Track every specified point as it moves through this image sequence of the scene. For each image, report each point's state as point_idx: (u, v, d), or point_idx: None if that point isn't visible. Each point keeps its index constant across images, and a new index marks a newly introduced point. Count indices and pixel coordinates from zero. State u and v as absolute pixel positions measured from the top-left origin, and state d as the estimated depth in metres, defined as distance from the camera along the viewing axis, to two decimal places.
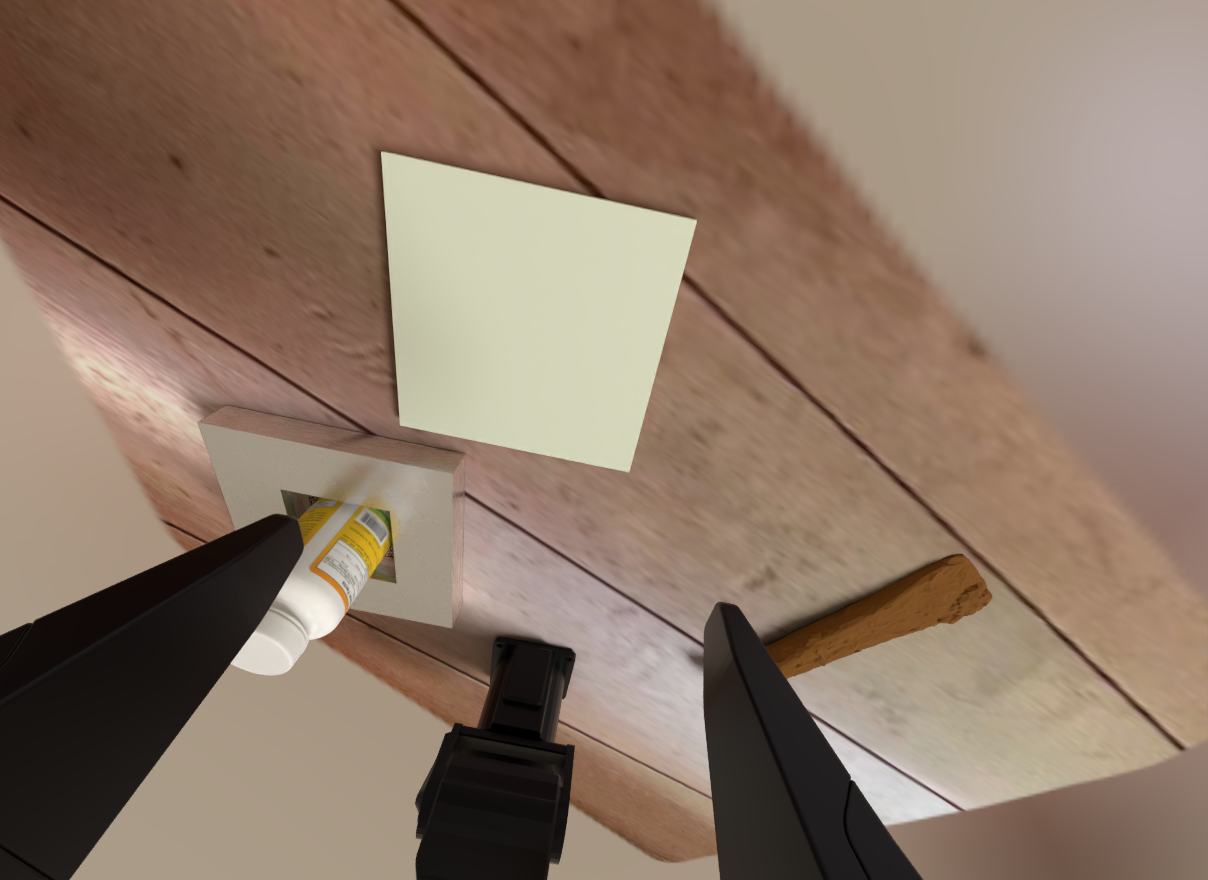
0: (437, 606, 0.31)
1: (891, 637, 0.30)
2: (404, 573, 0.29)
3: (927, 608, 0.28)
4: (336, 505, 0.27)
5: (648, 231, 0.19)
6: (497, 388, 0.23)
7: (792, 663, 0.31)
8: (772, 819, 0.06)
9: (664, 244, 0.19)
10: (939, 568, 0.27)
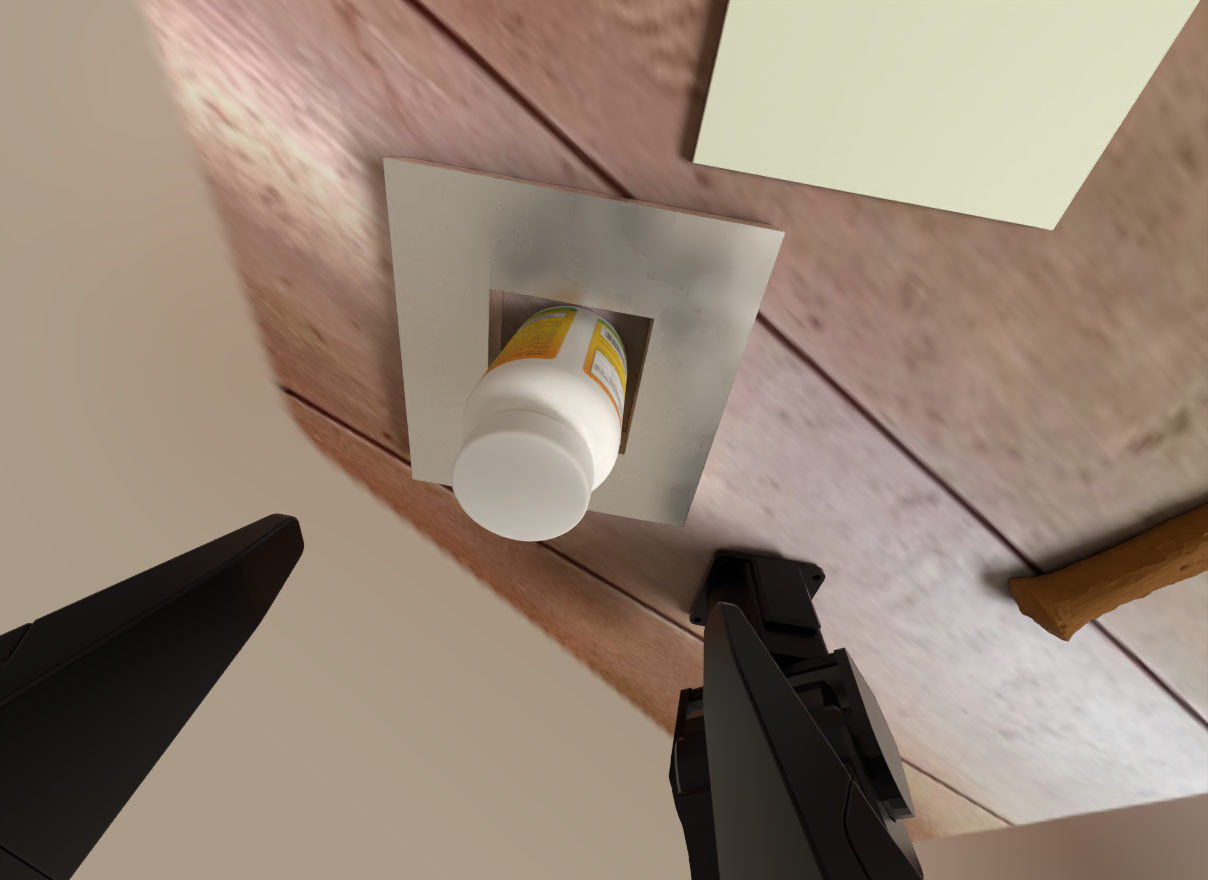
0: (673, 491, 0.22)
1: None
2: (641, 435, 0.20)
3: None
4: (568, 316, 0.18)
5: None
6: (890, 62, 0.14)
7: (1176, 563, 0.22)
8: (772, 819, 0.06)
9: None
10: None
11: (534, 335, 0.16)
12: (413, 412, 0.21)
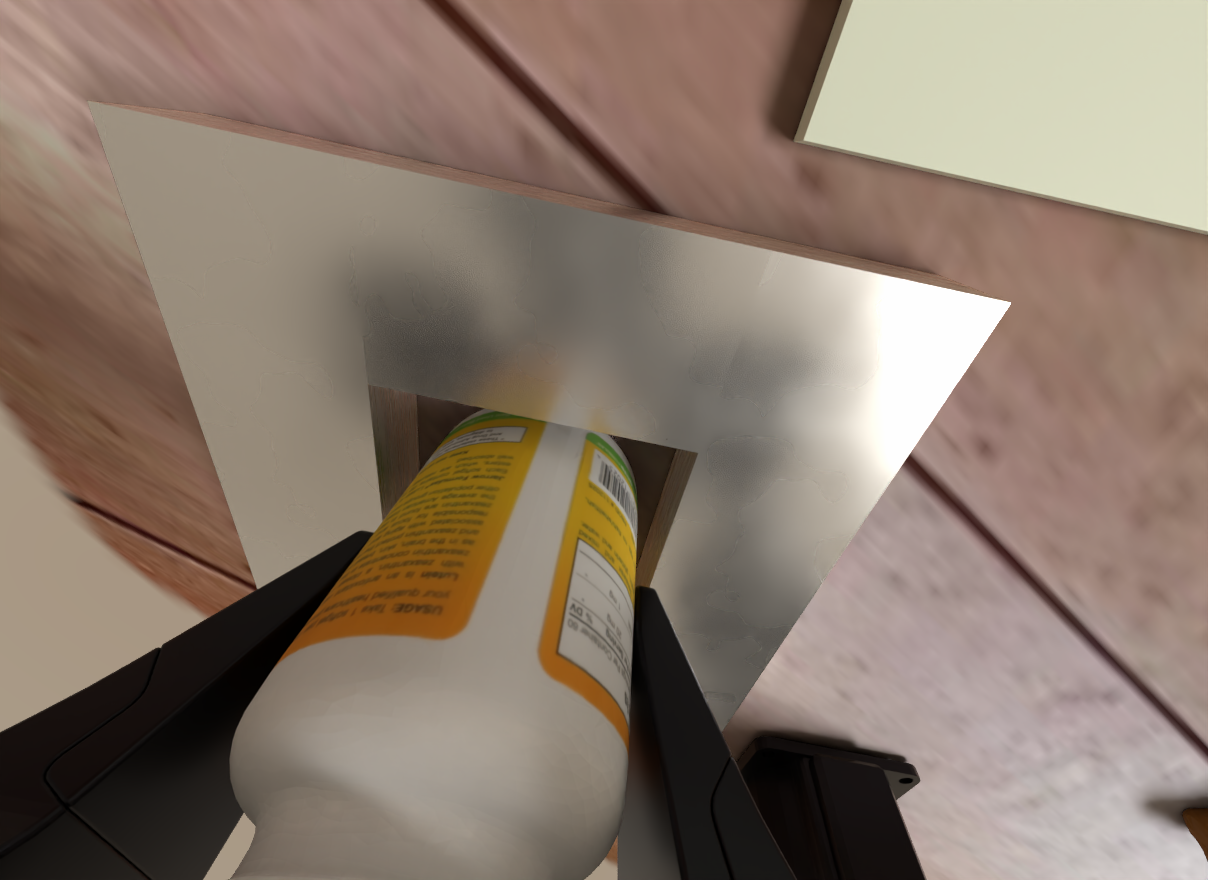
0: (706, 696, 0.13)
1: None
2: None
3: None
4: (527, 438, 0.09)
5: None
6: None
7: None
8: (650, 796, 0.06)
9: None
10: None
11: (443, 506, 0.07)
12: (262, 569, 0.12)
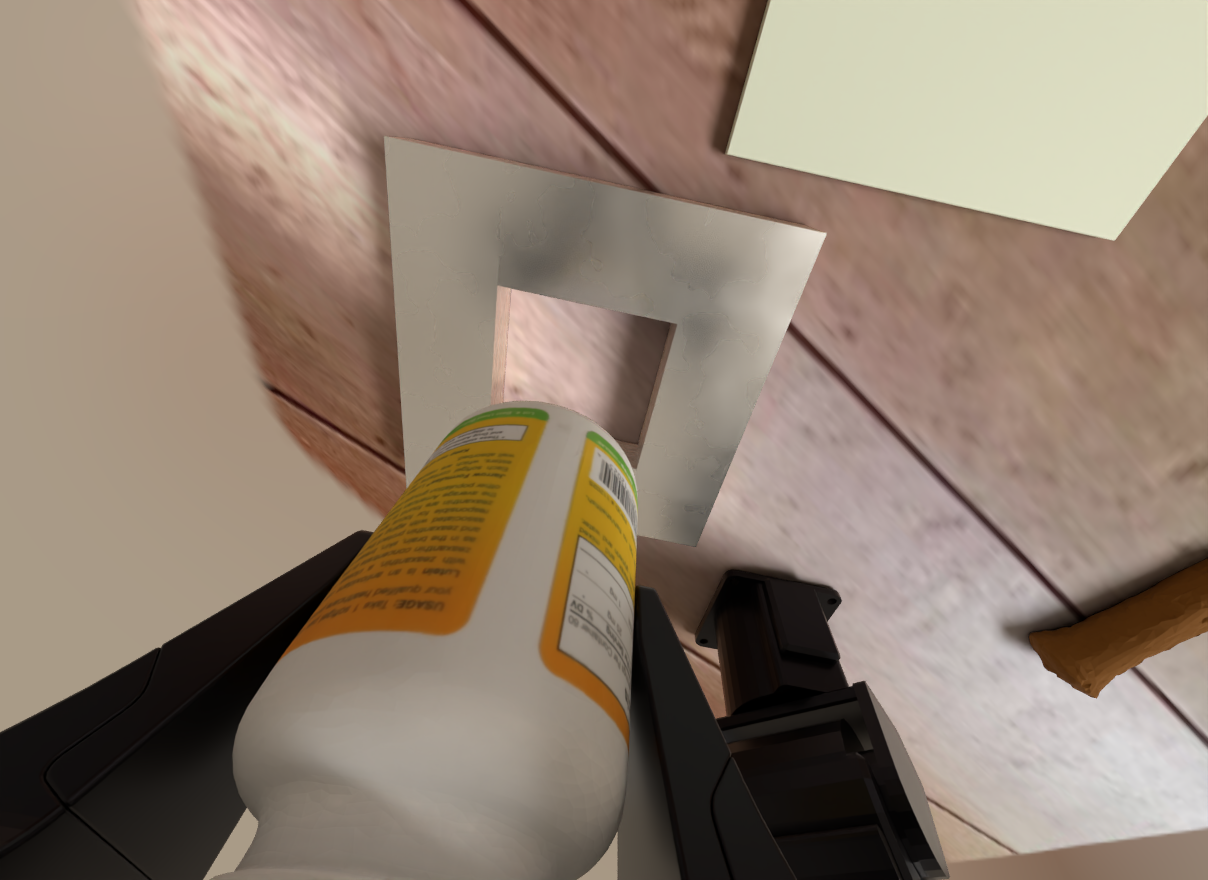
0: (687, 509, 0.20)
1: None
2: (656, 449, 0.19)
3: None
4: (529, 436, 0.09)
5: None
6: (952, 48, 0.13)
7: (1197, 616, 0.21)
8: (650, 796, 0.06)
9: None
10: None
11: (445, 503, 0.07)
12: (409, 417, 0.19)
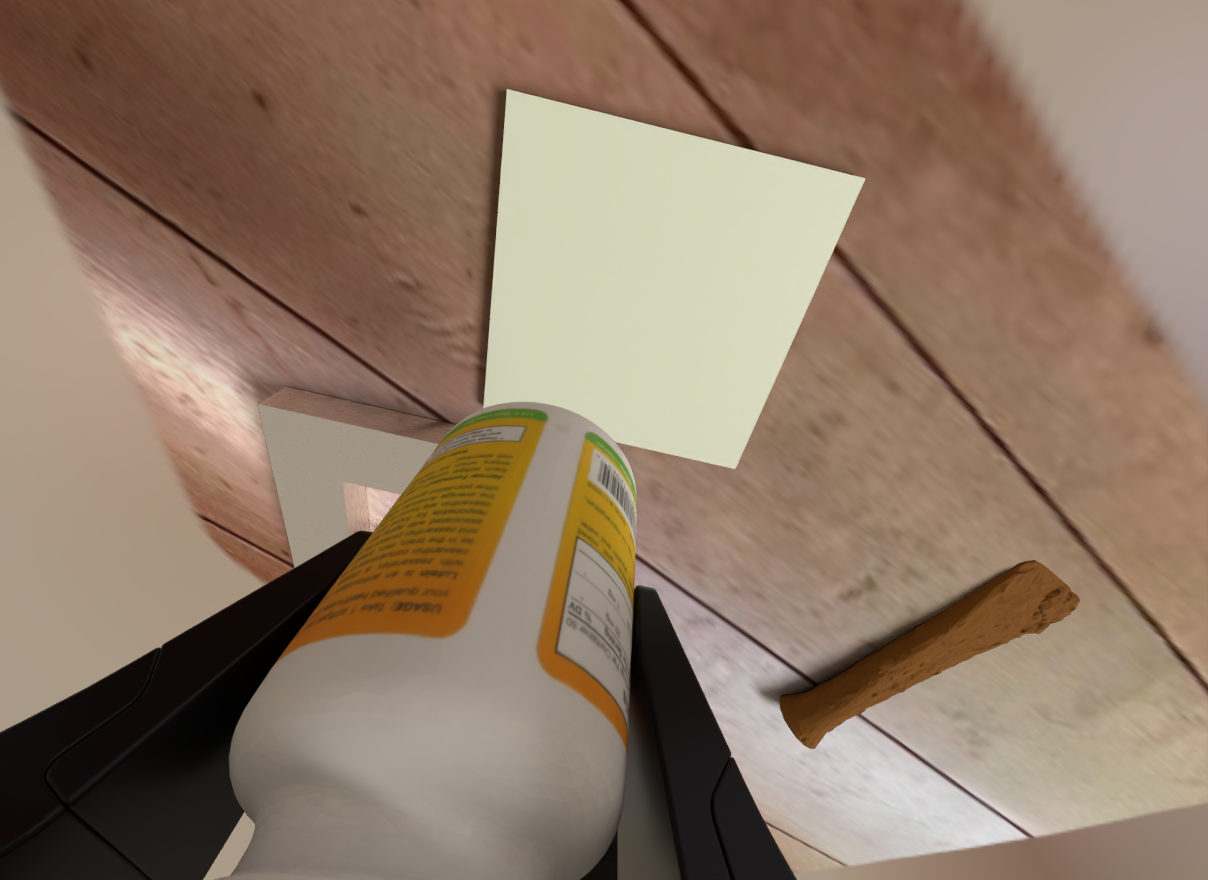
0: None
1: (972, 654, 0.28)
2: None
3: (1006, 620, 0.26)
4: (526, 438, 0.09)
5: (805, 190, 0.16)
6: (600, 371, 0.21)
7: (867, 692, 0.29)
8: (650, 796, 0.06)
9: (822, 206, 0.17)
10: (1010, 577, 0.25)
11: (442, 505, 0.07)
12: (296, 550, 0.27)
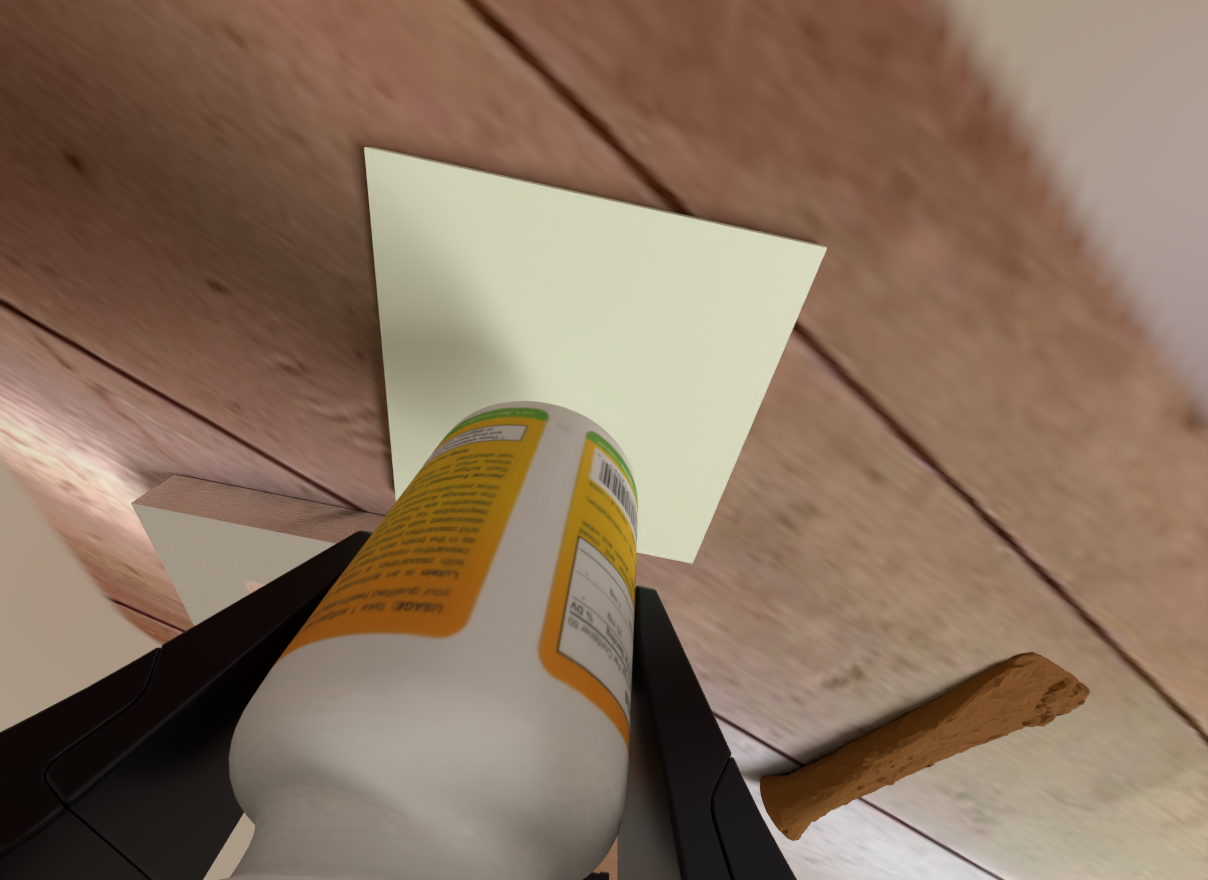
0: None
1: (968, 747, 0.25)
2: None
3: (1004, 714, 0.23)
4: (528, 437, 0.09)
5: (752, 262, 0.13)
6: None
7: (851, 785, 0.26)
8: (650, 796, 0.06)
9: (774, 281, 0.13)
10: (1005, 671, 0.22)
11: (444, 504, 0.07)
12: None
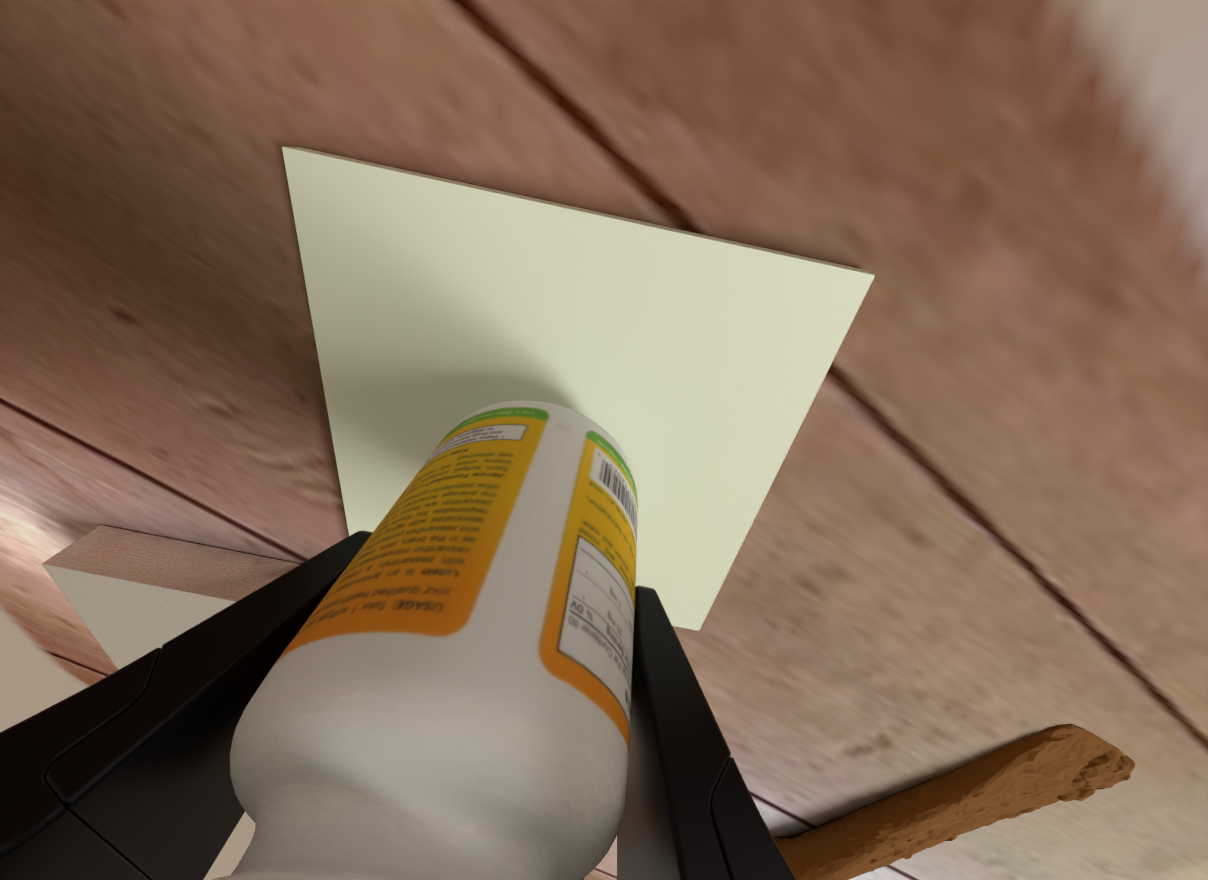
0: None
1: (995, 820, 0.22)
2: None
3: (1037, 789, 0.20)
4: (528, 436, 0.09)
5: (778, 293, 0.10)
6: None
7: (864, 859, 0.24)
8: (650, 796, 0.06)
9: (805, 315, 0.10)
10: (1040, 745, 0.19)
11: (444, 503, 0.07)
12: None
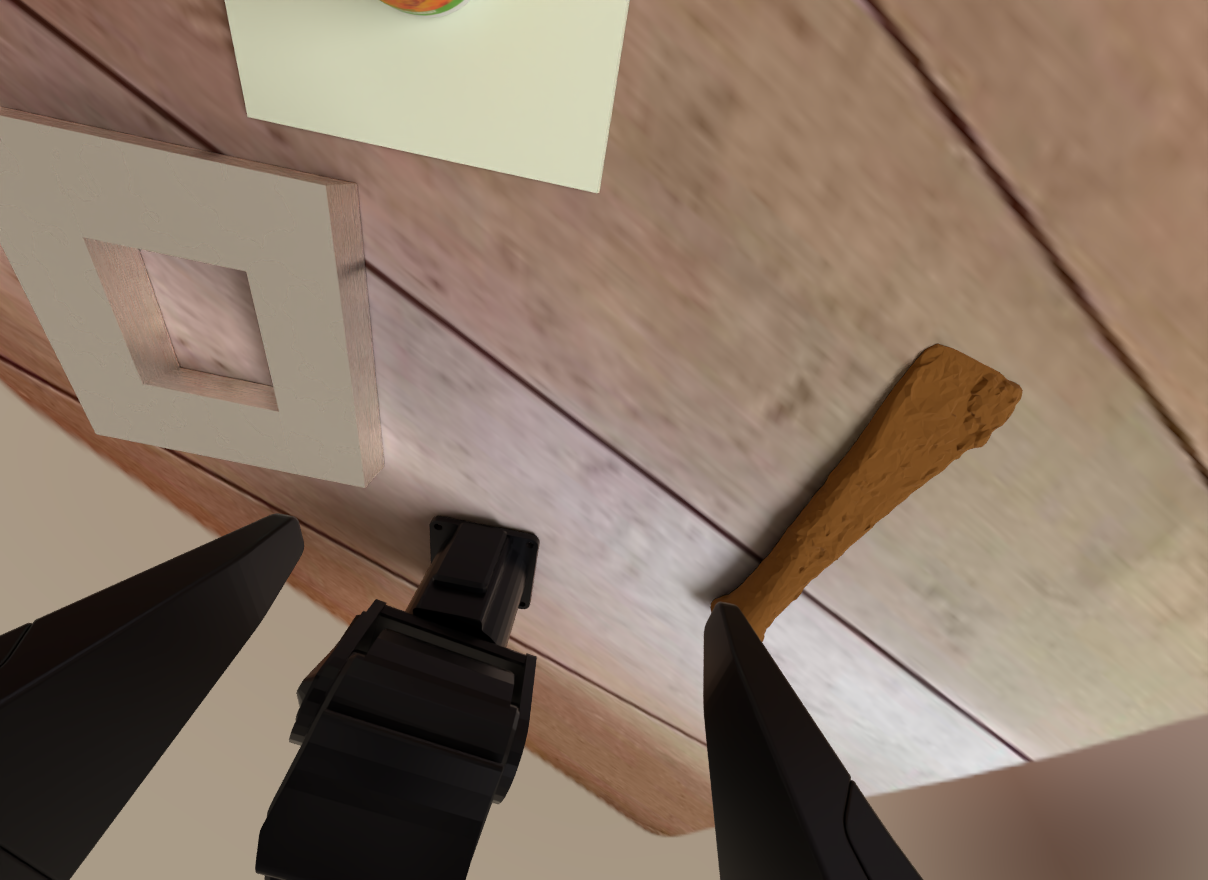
0: (340, 450, 0.22)
1: (905, 494, 0.22)
2: (286, 392, 0.21)
3: (929, 436, 0.20)
4: None
5: None
6: (384, 21, 0.15)
7: (791, 568, 0.24)
8: (772, 819, 0.06)
9: None
10: (912, 375, 0.19)
11: None
12: (67, 364, 0.21)
